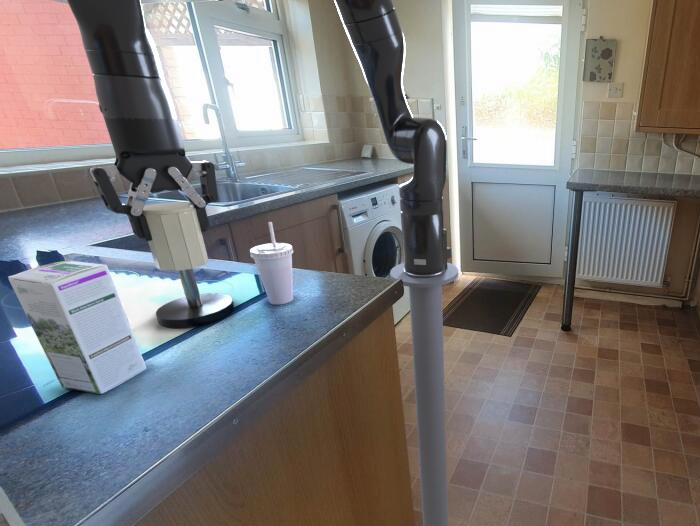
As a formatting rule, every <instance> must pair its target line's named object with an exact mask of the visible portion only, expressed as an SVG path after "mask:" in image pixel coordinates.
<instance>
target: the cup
mask: <svg viewBox="0 0 700 526" xmlns="http://www.w3.org/2000/svg"><path fill="white" fill-rule="evenodd" d="M142 215H145V217H146V221H147V224H148V227H149V230H150V233H151V237H152V241H147V242H148V246H149V249H150V252H151V257H152V258H153V262H154V266H155V268H156V269H157V270H159V271H161V272H178V271H181V270H188V269H193V270H194V269H196V268H199V267H202V266H206V265H207V263H208V262H209V256H208V253H207V248H206V245H205V241H204V237H203V232H201V228H200V224H199V220H198V217H197V213H196V209H195V208H194V205H193V204H192V203H190V202H183V201H172V202H171V201H170V202H169V201H168V202H158V203H157V202H156V203H150V204H145V205H144V208H143V212H142Z"/></svg>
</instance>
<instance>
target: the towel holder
mask: <svg viewBox="0 0 700 526" xmlns="http://www.w3.org/2000/svg"><path fill="white" fill-rule="evenodd" d="M177 273H178V276H179V279H180V282H181V283H180V284H181V286H182V289H183V293H184V296H183V297H180V298H177V299H173V300H171V301H169V302H166V303H164V304H162V306H160V307H159V308H158V309H157V310H156V312H155V316H156V319H157V322H158V324H159V325H160V326H162V327H164V328H169V329H188V328H189V329H190V328H196V327H201V326H205V325H209V324H212V323H215V322H218V321H220V320H223V319H224V318H226V317H228V316H229V315H231V314H232V313H233V312H234V310H235V304H234V300H233V298H232V297H231V296H230V295H229V294H225V293H218V292H217V293H216V292H209V293H200V291H199V287H198V284H197V279H196V276H195V273H194V268H193V269H188V270H181V271H177Z"/></svg>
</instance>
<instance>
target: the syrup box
mask: <svg viewBox="0 0 700 526" xmlns="http://www.w3.org/2000/svg"><path fill="white" fill-rule="evenodd" d="M7 278H8V280H9V284H10V285H11V287H12V289H13V292H14V293H15V295H16V297H17V299H18V302H19V303H20V305H21V307H22V310H23V312H24V314H25V316H26V318H27V320H28V322H29V324H30V326H31V327H32V330H33V332H34V333H35V336H36V338H37V340H38V343H39V344H40V346H41V348H42V350H43V352H44V355H45V356H46V358H47V360H48V363H49V365H50V366H51V368H52V370H53V372H54V374H55V376H56V378H57V381H58V382H59V384H60V386H61V388H62V389H67V390H73V391H80V392H85V393H92V394H97V395H102V394H106V393H107V392H108V391H110V390H112V389H114V388H116V387H118V386H120V385H122V384H124V383H125V382H127V381H128V380H131V379H132V378H134V377H136V376H137V375H139V374H140V373H142V372H144V371H146V370H147V366H146V363H145V360H144V358H143V354H142V352H141V349H140V347H139V344H138V342H137V339H136V337H135V335H134V331H133V329H132V327H131V324H130V322H129V319H128V317H127V314H126V311H125V309H124V305H123V303H122V301H121V297H120V295H119V293H118V290H117V287H116V284H115V282H114V279H113V276H112V275H111V272H110V270H109V267H108V265H107V264H103V263H102V264H101V263H92V262H84V261H74V260H61V261H57V262H56V261H55V262H51V263H48V264H47V263H46V264H42V265H39V266H37V267H33V268H30V269H27V270H24V271H21V272H19V273H16V274H13V275H9V276H7Z"/></svg>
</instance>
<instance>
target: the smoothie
mask: <svg viewBox="0 0 700 526" xmlns="http://www.w3.org/2000/svg"><path fill="white" fill-rule="evenodd" d="M267 224H268V229H269V235H270V239H271V242H270V243H263V244H259V245H255V246H253V247H252V248H250V249H249V253H250V254H249V257H250V258H251V259H253V260H254V264H255V267H256V269H257V272H258V275H259V278H260V280H261V283H262V286H263V288H264V290H265V294H266V296H267V299H268V302H269V304H270V305H276V306H277V305H278V306H279V305H285V304H288V303H291V302H293V300H294V283H293V282H294V281H293V255H292V254H294V249H293V245H291V244H289V243H285V242H277V240H276V236H275V231H274V225H273V222H272V221H268V222H267Z"/></svg>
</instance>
